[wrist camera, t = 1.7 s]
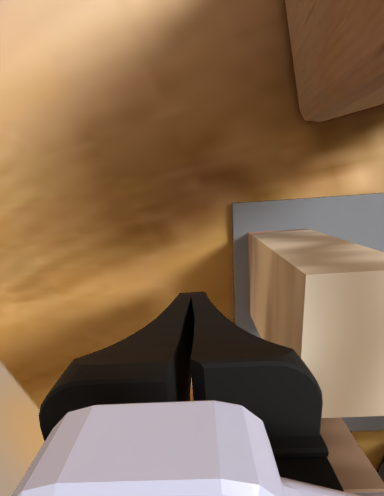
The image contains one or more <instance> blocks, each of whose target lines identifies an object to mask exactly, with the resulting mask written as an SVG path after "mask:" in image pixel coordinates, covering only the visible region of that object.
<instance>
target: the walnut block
mask: <svg viewBox="0 0 384 496" xmlns="http://www.w3.org/2000/svg"><path fill="white" fill-rule="evenodd" d="M320 434H321V436H322V438H323V440H324V442H325V444H326V446H327V448H328V451H329V455H328V456H327V458H328V460H329V462H330V464H331V466H332V468H333V470H334V472H335V474H336V476H337V478H338V480H339V482H340V484H341V486H342V488H343V490H344V492H347V493H348V492H384V482H383V481H382V479H381V478H380V476H379V475H378V473H377V472H376V470H375V469H374V467H373V465H372V464H371V462H370V461H369V459H368V458H367V456H366V455H365V453H364V452H363V450H362V449H361V447H360V446H359V444H358V442H357V441H356V439H355V438H354V436H353V435H352V433H351V432H350V430H349V429H348V427H347V426H346V424H345V422H344V421H343V419H342V418H341V417H339V418H321V428H320Z"/></svg>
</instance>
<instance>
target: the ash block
mask: <svg viewBox="0 0 384 496" xmlns="http://www.w3.org/2000/svg"><path fill="white" fill-rule="evenodd" d="M249 313H250V315H251V317H252V320H253V322H254V324H255V326H256V328H257V331H258V333H259V335H260V337H261V338H262V339H264V340H267V341H269V342H272V343H275V344H279V345H282V346H285V347H288V348H292V349H294V350H295V352H296V353H297V354H298V355H299V357H300V358H301V359H302V360H303V361H304V363H305V364H306V366H307V367H308V368H309V370H310V371H311V373H312V374H313V376H314V377H315V379H316V380H317V382H318V384H319V387H320V389H321V391H322V399H323V407H322V417H321V418H339V417H366V416H384V252H382V251H378V250H375V249H372V248H369V247H365V246H362V245H359V244H356V243H353V242H349V241H346V240H343V239H340V238H337V237H333V236H330V235H327V234H324V233H320V232H317V231H314V230H311V229H295V230H280V231H264V232H249Z"/></svg>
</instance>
